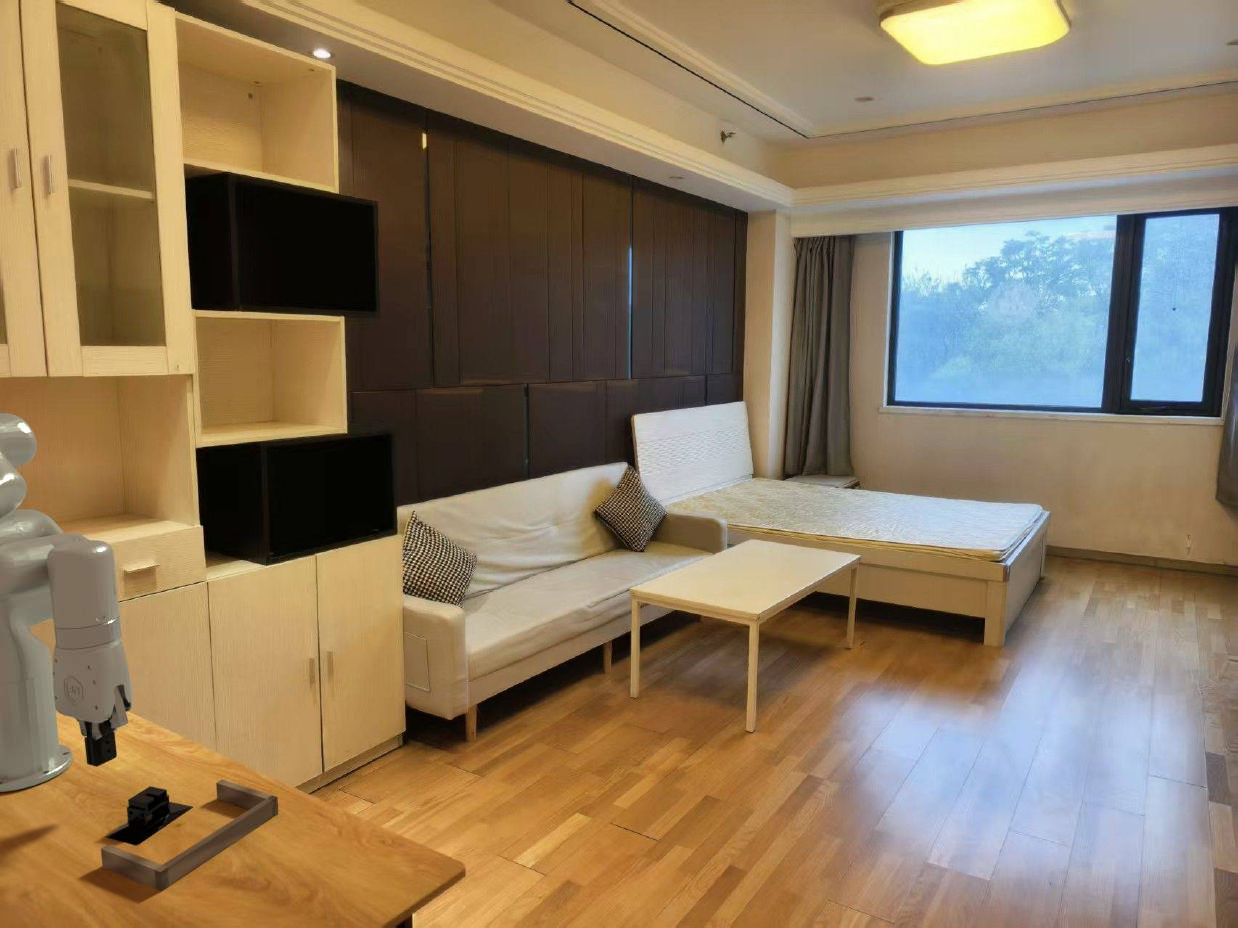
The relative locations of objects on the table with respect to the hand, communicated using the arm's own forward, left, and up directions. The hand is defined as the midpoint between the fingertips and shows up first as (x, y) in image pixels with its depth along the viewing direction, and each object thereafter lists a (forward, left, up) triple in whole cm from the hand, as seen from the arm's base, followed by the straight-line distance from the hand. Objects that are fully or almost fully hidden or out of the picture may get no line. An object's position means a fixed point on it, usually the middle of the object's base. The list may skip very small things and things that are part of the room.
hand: (102, 760), depth 116 cm
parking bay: (+17, 0, -7) cm, 18 cm away
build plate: (+8, 0, -8) cm, 11 cm away
